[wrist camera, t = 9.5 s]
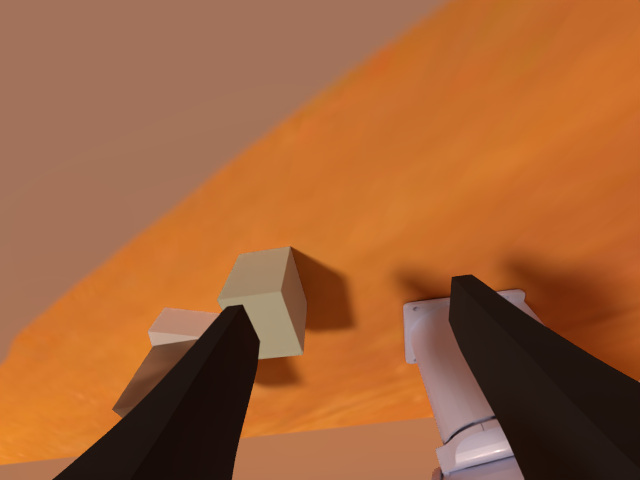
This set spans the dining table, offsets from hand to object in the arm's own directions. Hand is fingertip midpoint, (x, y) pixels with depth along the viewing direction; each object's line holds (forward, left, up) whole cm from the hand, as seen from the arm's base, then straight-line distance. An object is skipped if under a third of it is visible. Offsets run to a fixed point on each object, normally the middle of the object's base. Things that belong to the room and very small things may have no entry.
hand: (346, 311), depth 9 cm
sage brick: (+6, +6, -10) cm, 13 cm away
